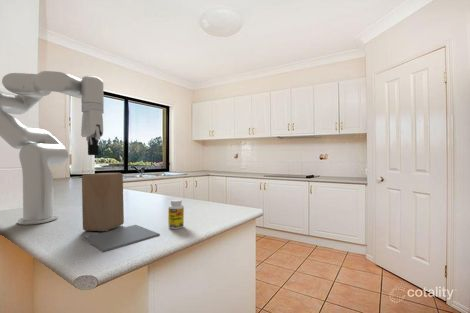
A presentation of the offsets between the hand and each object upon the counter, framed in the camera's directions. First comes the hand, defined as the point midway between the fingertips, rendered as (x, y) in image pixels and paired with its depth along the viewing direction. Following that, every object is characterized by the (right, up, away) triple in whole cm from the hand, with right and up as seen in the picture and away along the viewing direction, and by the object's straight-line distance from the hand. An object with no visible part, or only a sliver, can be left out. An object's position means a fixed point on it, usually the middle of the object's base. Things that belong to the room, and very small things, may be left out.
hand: (93, 154), depth 94 cm
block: (+8, -27, -7) cm, 29 cm away
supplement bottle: (+34, -28, -5) cm, 44 cm away
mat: (+19, -27, -16) cm, 37 cm away
